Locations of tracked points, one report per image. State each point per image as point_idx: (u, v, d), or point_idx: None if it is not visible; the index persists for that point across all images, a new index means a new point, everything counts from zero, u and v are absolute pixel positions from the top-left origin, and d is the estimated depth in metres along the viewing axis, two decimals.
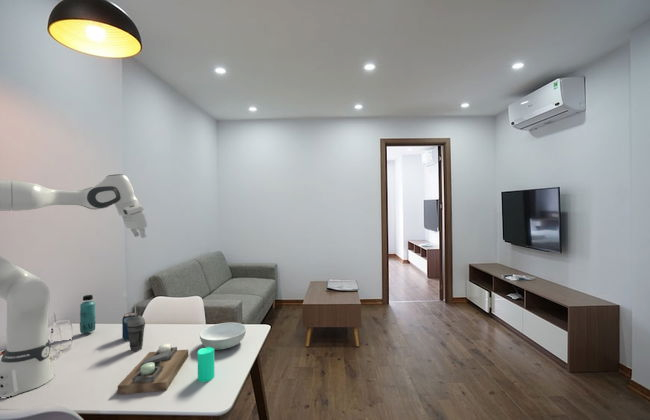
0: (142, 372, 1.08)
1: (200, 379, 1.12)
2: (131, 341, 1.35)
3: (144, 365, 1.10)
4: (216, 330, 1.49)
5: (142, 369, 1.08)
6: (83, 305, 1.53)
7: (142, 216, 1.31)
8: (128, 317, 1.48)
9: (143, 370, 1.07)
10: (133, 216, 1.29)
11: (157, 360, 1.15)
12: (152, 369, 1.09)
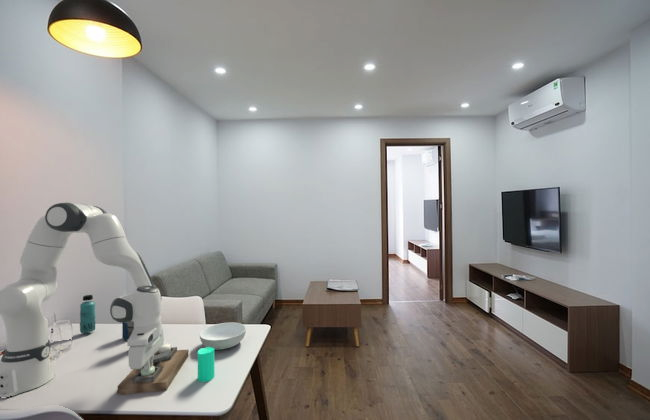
0: (142, 375, 1.08)
1: (200, 379, 1.12)
2: None
3: None
4: (216, 330, 1.49)
5: (142, 372, 1.08)
6: (83, 305, 1.53)
7: (138, 354, 1.00)
8: None
9: (143, 373, 1.07)
10: (130, 350, 1.00)
11: (157, 360, 1.15)
12: (152, 372, 1.09)
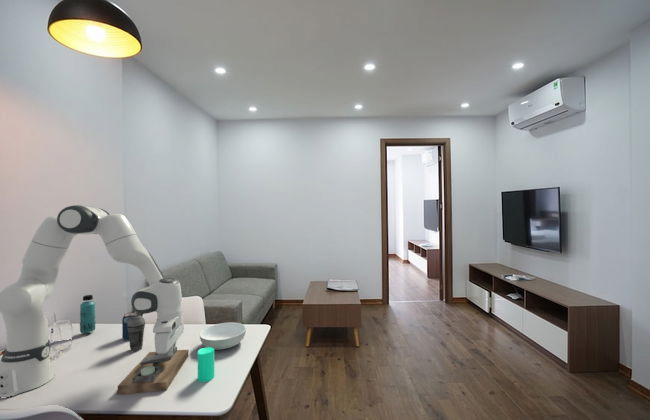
0: None
1: (200, 379, 1.12)
2: (131, 341, 1.35)
3: (144, 369, 1.10)
4: (216, 330, 1.49)
5: (142, 373, 1.08)
6: (83, 305, 1.53)
7: (164, 340, 1.09)
8: (128, 317, 1.48)
9: (143, 373, 1.07)
10: (155, 337, 1.09)
11: (157, 360, 1.15)
12: (152, 373, 1.09)
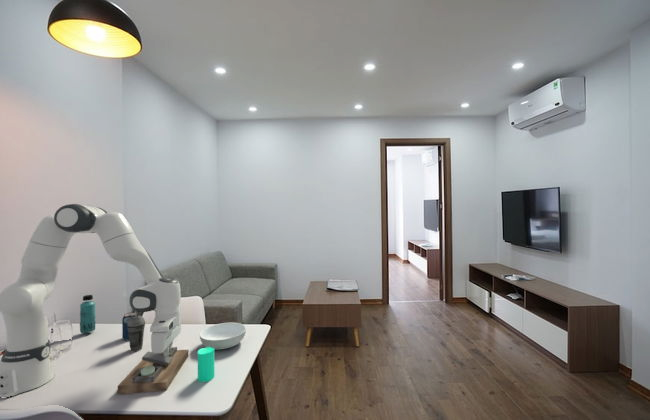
0: None
1: (200, 379, 1.12)
2: (131, 341, 1.35)
3: (144, 369, 1.10)
4: (216, 330, 1.49)
5: (142, 373, 1.08)
6: (83, 305, 1.53)
7: (160, 340, 1.08)
8: (128, 317, 1.48)
9: (143, 373, 1.07)
10: (152, 336, 1.08)
11: (158, 362, 1.15)
12: (152, 373, 1.09)
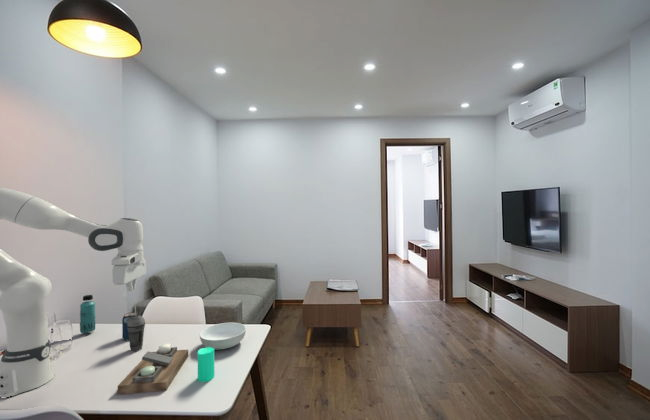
0: None
1: (200, 379, 1.12)
2: (131, 341, 1.35)
3: (144, 369, 1.10)
4: (216, 330, 1.49)
5: (142, 373, 1.08)
6: (83, 305, 1.53)
7: (121, 271, 1.14)
8: (128, 317, 1.48)
9: (143, 373, 1.07)
10: (113, 268, 1.14)
11: (158, 362, 1.15)
12: (152, 373, 1.09)
